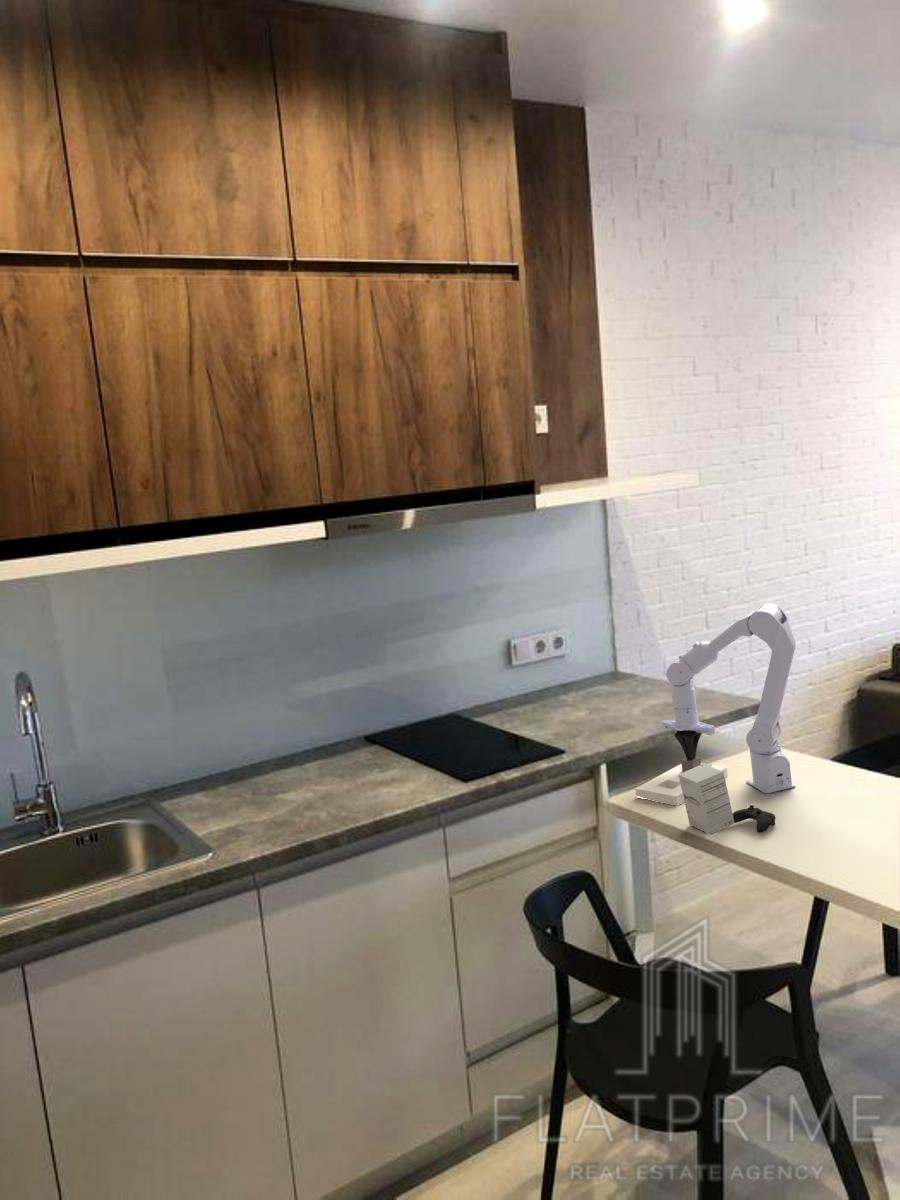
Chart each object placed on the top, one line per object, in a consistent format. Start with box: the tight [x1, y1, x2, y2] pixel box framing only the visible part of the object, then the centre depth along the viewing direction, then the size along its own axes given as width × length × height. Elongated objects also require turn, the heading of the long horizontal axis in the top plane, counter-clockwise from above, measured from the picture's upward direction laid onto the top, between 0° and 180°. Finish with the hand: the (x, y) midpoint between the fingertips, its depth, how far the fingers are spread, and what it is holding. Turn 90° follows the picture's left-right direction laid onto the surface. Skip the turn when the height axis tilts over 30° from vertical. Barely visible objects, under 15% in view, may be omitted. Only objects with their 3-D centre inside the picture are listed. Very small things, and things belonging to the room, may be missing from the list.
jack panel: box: [635, 762, 728, 807], centre depth 233 cm, size 22×12×3 cm, turn 132°
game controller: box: [732, 804, 777, 834], centre depth 204 cm, size 10×5×6 cm
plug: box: [680, 756, 702, 772], centre depth 236 cm, size 4×3×6 cm
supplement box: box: [679, 763, 735, 835], centre depth 206 cm, size 7×7×13 cm
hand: (691, 758), depth 235 cm, fingers closed
